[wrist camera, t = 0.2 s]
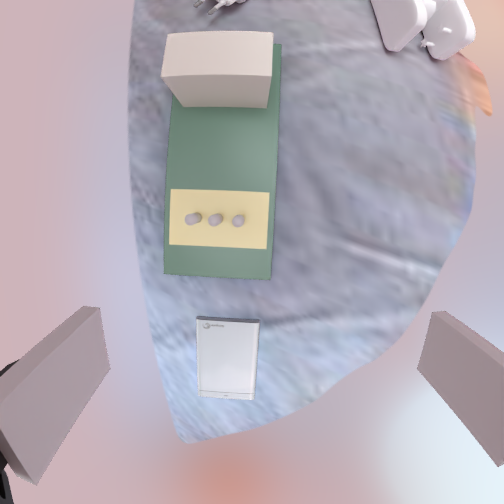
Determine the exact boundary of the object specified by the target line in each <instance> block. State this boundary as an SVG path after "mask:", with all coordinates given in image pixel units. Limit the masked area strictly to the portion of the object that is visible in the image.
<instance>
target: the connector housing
mask: <svg viewBox="0 0 504 504" xmlns="http://www.w3.org/2000/svg"><path fill="white" fill-rule="evenodd" d="M272 56H273V32H258V31H200V32H184V33H172V34H168V36H167V41H166V47H165V53H164V59H163V65H162V71H161V78H162V79H163V81H164V82H165V83H166V85H167V86H168V87H169V89H170V90H171V91H172V93H173V94H174V95H175V97H176V98H177V99H178V101H179V102H180V103H181V105H182V106H183V107H246V108H266V109H267V103H268V97H269V90H270V84H271V78H272Z"/></svg>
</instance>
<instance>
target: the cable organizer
mask: <svg viewBox="0 0 504 504" xmlns="http://www.w3.org/2000/svg"><path fill="white" fill-rule="evenodd" d="M371 3H372V6H373V9H374V12H375V15H376V18H377V22H378V25H379V28H380V32H381V35H382V39H383V42H384V45H385V47H386V48H387V49H388V50H390V51H396V52H399V51H400V50H401V49H402V48H403V47H404V46H405V45H406V44H407V43H409V42H410V41H411V40H412V39H413V38H414V37H415V36H416V35H417V34H418V33H419V32H420V31H421V30H422V32H423V35H424V39H423V40H421V43H422V44H421V47H422V46H424V47H425V46H427V47H428V50H429V53H430V54H431V56H432V57H433V58H435V59H439V60H446V59H447V58H449V57H450V56H452V55H453V54H455V53H456V52H458V51H459V50H461V49H462V48H464V47H465V46H467V45H468V44H470V43H472V42H473V41H474V39H475V26H474V23H473V21H472V18H471V16H470V14H469V12H468V9H467V7H466V5H465V2H464V0H371ZM421 47H420V48H421Z"/></svg>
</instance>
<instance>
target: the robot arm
mask: <svg viewBox="0 0 504 504" xmlns="http://www.w3.org/2000/svg"><path fill="white" fill-rule="evenodd" d="M417 369H418V370H419V372H420V373H421V374H422V375H423V376H424V377H425V379H426V380H427V381H428V382H429V383H430V384H431V385H432V387H433V388H434V389H435V390H436V391H437V393H438V394H439V395H440V396H441V397H442V398H443V400H444V401H445V402H446V403H447V404H448V406H449V407H450V408H451V409H452V410H453V411H454V413H455V414H456V415H457V416H458V418H459V419H460V420H461V421H462V422H463V424H464V425H465V426H466V427H467V428H468V430H469V431H470V432H471V434H472V435H473V436H474V437H475V439H476V440H477V441H478V442H479V444H480V445H481V446H482V447H483V449H484V450H485V451H486V452H487V454H488V455H489V456H490V458H491V459H492V460H493V461H494V462H495V464H496V465H497V467H499V466H501V465H503V464H504V353H503V352H502V351H501V350H499V349H498V348H497V347H495V346H494V345H493V344H491V343H490V342H489V341H487V340H486V339H484V338H483V337H482V336H480V335H479V334H478V333H476V332H475V331H473V330H472V329H471V328H469V327H468V326H466V325H465V324H463V323H462V322H461V321H459V320H458V319H456V318H455V317H453V316H452V315H450V314H449V313H447V312H446V311H440V312H432V315H431V319H430V324H429V328H428V332H427V335H426V339H425V343H424V347H423V350H422V354H421V357H420V361H419V364H418V367H417ZM109 370H110V364H109V360H108V355H107V349H106V344H105V338H104V332H103V326H102V320H101V313H100V308H97V307H87V306H83V307H81V308H80V309H79V310H78V311H77V312H75V313H74V314H73V315H72V316H70V317H69V318H68V319H67V320H65V321H64V322H63V323H62V324H61V325H59V326H58V327H57V328H56V329H55V330H53V331H52V332H51V333H50V334H49V335H47V336H46V337H45V338H44V339H43V340H42V341H40V342H39V343H38V344H37V345H36V346H35V347H33V348H32V349H31V350H30V351H29V352H28V353H27V354H25V355H24V356H23V357H22V358H21V359H19V360H17V361H15V362H13V363H11V364H9V365H7V366H6V367H5V368H4V369H3V370H2V371H0V504H14V503H13V499H12V495H11V490H10V485H9V481H8V477H7V475H6V472H5V471H4V468H5V466H6V465H7V463H8V464H9V465H10V467H11V469H12V470H13V471H14V473H15V474H16V475H17V476H18V477H20V478H22V479H24V480H26V481H28V482H30V483H32V484H34V485H37V484H38V482H39V480H40V479H41V477H42V475H43V474H44V472H45V470H46V469H47V467H48V465H49V463H50V462H51V460H52V458H53V457H54V455H55V454H56V452H57V450H58V449H59V447H60V445H61V444H62V442H63V440H64V439H65V437H66V436H67V434H68V433H69V431H70V429H71V428H72V426H73V425H74V423H75V422H76V420H77V418H78V417H79V415H80V414H81V412H82V411H83V409H84V408H85V406H86V404H87V403H88V401H89V400H90V398H91V397H92V395H93V394H94V392H95V391H96V389H97V388H98V386H99V385H100V383H101V382H102V380H103V379H104V377H105V376H106V374H107V373H108V372H109Z"/></svg>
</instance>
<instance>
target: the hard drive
mask: <svg viewBox="0 0 504 504" xmlns="http://www.w3.org/2000/svg"><path fill="white" fill-rule="evenodd" d="M259 327H260V320H250V319H232V318H216V317H202V316H197V317H196V344H197V382H198V395H199V396H202V397H213V398H227V399H245V400H252V399H254V398H255V385H256V371H257V357H258V343H259Z"/></svg>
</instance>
